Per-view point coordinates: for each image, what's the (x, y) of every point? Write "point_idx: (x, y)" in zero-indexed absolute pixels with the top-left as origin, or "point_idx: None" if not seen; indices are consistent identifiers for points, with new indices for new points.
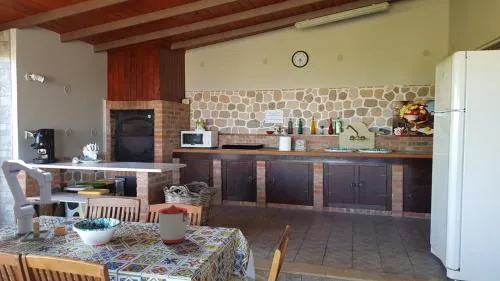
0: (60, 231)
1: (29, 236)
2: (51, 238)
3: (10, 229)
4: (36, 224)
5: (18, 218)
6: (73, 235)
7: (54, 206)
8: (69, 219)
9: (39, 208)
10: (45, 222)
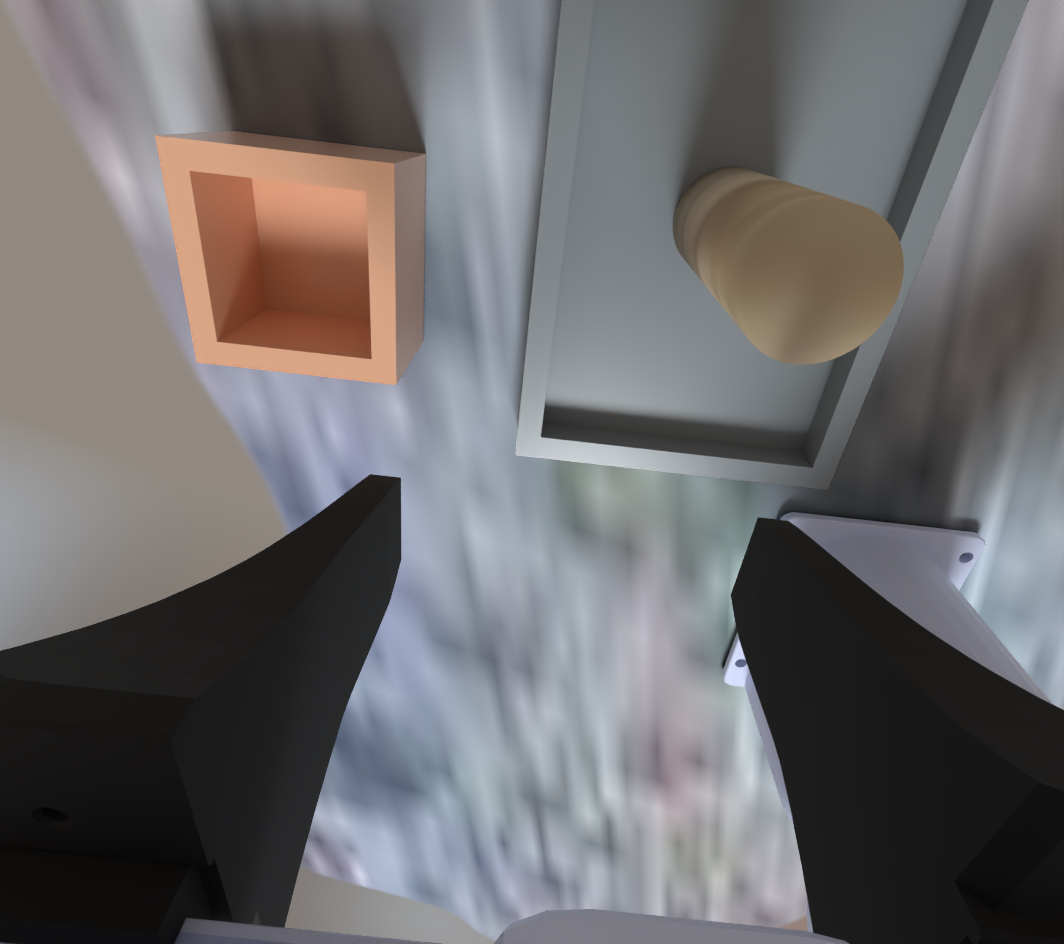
0: (281, 144)
1: None
2: (452, 5)
3: None
4: (805, 200)
5: None
6: (71, 60)
7: (99, 658)
8: (384, 851)
9: (802, 838)
10: (613, 842)
